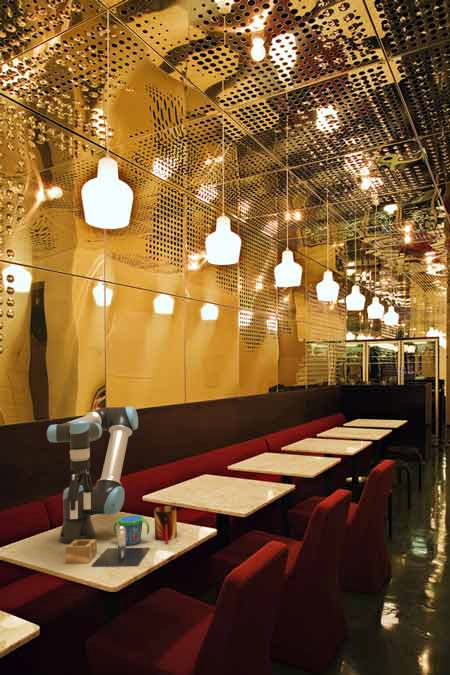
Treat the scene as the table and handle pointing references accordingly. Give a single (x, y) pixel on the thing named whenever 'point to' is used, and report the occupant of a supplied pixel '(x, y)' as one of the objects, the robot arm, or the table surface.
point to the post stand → (121, 553)
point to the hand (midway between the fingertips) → (80, 513)
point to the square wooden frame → (81, 551)
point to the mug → (165, 523)
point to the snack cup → (132, 528)
